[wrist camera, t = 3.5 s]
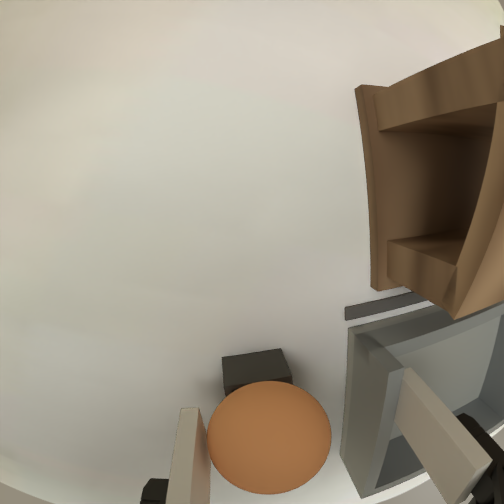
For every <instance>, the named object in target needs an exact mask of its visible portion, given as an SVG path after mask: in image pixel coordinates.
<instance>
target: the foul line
mask: <svg viewBox="0 0 504 504" xmlns="http://www.w3.org/2000/svg"><path fill="white" fill-rule="evenodd" d="M423 301H427V299H425V298H424V297H422V296H420V295H418V294H417V293H415V292H410V293H406V294H402V295H398V296H394V297H389V298H385V299H381V300H376V301H372V302H367V303H363V304H358V305H353V306H349V307H345V320H346V321H347V320H352V319H356V318H360V317H365V316H369V315H373V314H377V313H381V312H386V311H389V310H393V309H397V308H401V307H405V306H409V305H412V304H416V303H420V302H423Z"/></svg>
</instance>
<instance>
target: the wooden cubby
mask: <svg viewBox="0 0 504 504" xmlns="http://www.w3.org/2000/svg"><path fill="white" fill-rule="evenodd" d="M355 94H356V100H357V106H358V112H359V119H360V126H361V133H362V141H363V149H364V158H365V167H366V178H367V190H368V204H369V221H370V249H371V287H372V288H374V289H375V290H376V291H383V290H387V289H392V288H396V287H401V286H405V287H406V288H408V289H410V290H411V291H413V292H415V293H417V294H418V295H420V296H422V297H424V298H425V299H427V300H429V301H430V302H432V303H434V304H436V305H437V306H439V307H441V308H442V309H444V310H446V311H447V312H448V313H449V314H450V316H451V317H452V318H453V320H456V319H458V318H461V317H463V316H466V315H469V314H471V313H474V312H476V311H479V310H481V309H484V308H486V307H488V306H491V305H493V304H495V303H498V302H500V301H502V300H504V26H502V25H500V39H497V40H494V41H492V42H489V43H486V44H484V45H481V46H479V47H476V48H474V49H471V50H469V51H466V52H464V53H461V54H459V55H457V56H454V57H452V58H450V59H447V60H445V61H443V62H440V63H438V64H436V65H434V66H431V67H429V68H427V69H425V70H423V71H420V72H418V73H416V74H414V75H412V76H410V77H408V78H406V79H403V80H401V81H399V82H397V83H395V84H393V85H391V86H389V87H383V86H373V85H360V86H359V87H357V88H355Z"/></svg>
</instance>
